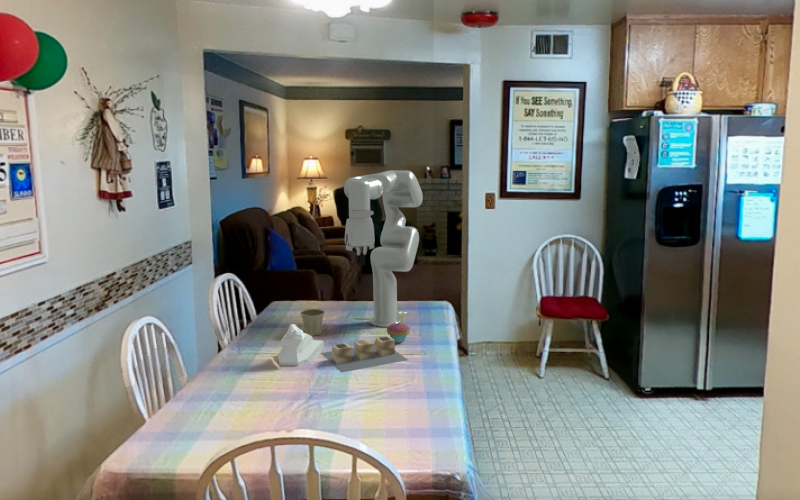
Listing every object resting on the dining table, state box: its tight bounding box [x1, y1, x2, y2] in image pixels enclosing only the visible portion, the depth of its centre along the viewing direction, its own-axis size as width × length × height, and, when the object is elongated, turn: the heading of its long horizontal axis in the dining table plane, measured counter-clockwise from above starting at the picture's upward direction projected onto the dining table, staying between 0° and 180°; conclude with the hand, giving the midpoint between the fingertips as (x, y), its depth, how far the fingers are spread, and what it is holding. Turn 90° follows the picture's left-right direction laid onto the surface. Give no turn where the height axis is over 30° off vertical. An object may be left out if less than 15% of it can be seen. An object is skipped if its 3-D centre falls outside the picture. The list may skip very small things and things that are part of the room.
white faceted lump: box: [277, 323, 325, 367], centre depth 196 cm, size 12×15×14 cm
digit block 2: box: [375, 335, 396, 356], centre depth 203 cm, size 5×5×5 cm
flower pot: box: [300, 308, 325, 337], centre depth 226 cm, size 9×9×9 cm
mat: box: [320, 343, 409, 373], centre depth 200 cm, size 24×20×1 cm
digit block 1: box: [331, 342, 352, 364], centre depth 196 cm, size 5×5×5 cm
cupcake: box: [386, 310, 411, 343], centre depth 215 cm, size 9×8×12 cm
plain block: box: [353, 338, 374, 360], centre depth 199 cm, size 5×5×5 cm
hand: (360, 265), depth 212 cm, fingers closed
